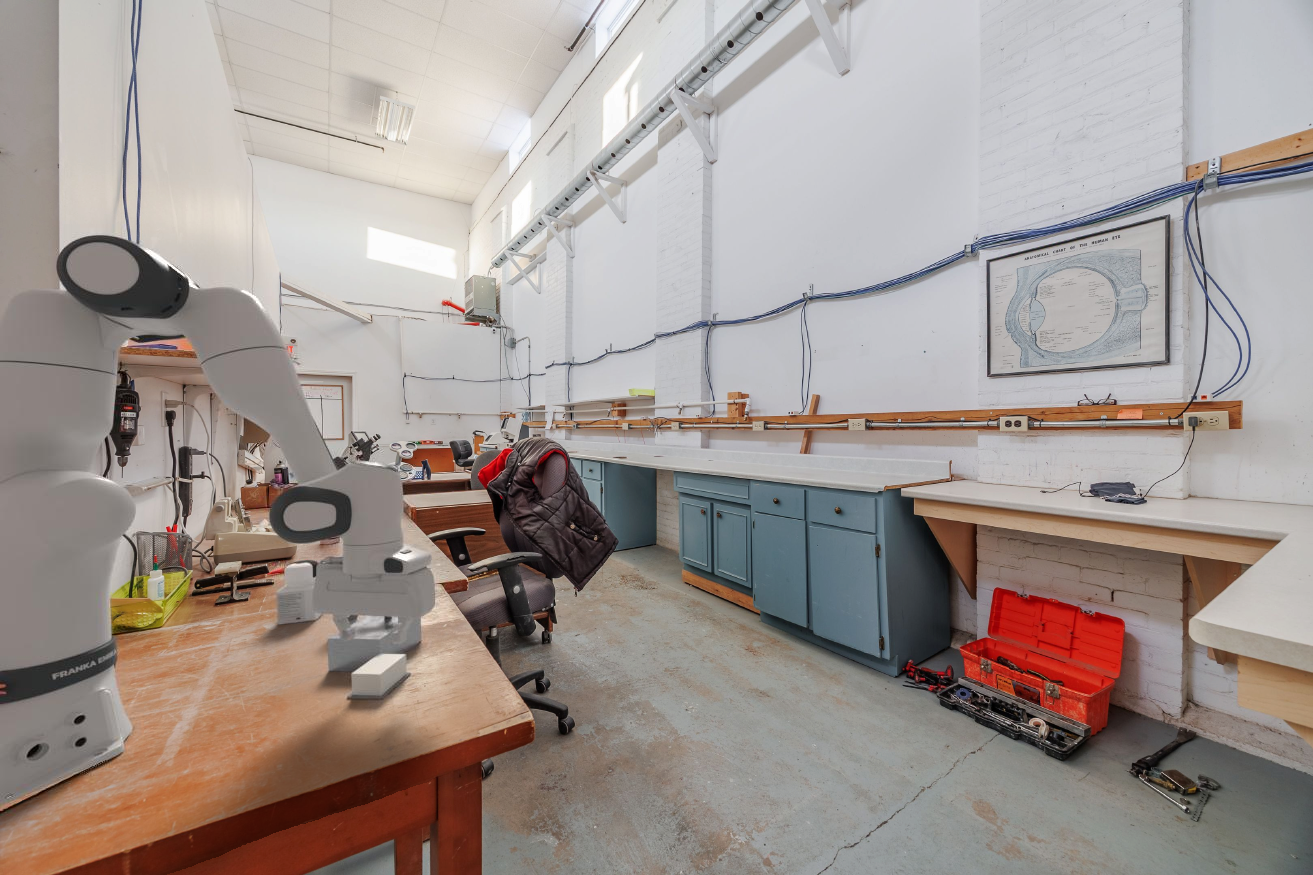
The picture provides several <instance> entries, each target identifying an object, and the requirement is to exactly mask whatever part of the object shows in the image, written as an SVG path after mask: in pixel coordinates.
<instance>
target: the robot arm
mask: <svg viewBox="0 0 1313 875" xmlns="http://www.w3.org/2000/svg"><path fill="white" fill-rule="evenodd" d="M56 274H57V276H58V279H59V281H60V283H61V285H62V286H63V288H64V289H65V290H64V289H56V288H35V289H27V290H24V291H21V292H18V293H16V294H15V295H14V296H12V297H11V298H10V300H9V301H8V302H7V305H6V307H5V308H4V311H3V314H2V316H1V318H0V807H1V806H2V805H5V804H6V803H9V802H11V801H14V800H15V799H18V798H21V797H23V796H25V795H26V794H30V793H32V792H35V791H37V790H40V789H41V788H43V787H46V786H48V785H50V784H52V783H54V782H56V781H59V780H60V779H63V778H65V777H67V776H69V775H72V774H73V773H75V772H80V771H82V770H85V769H86V768H89V767H91V766H94V765H95V764H98V763H100V762H102V763H104V762H106V761H108V760H111V759H112V758H114V757H116V756H118V755H120V754H122V753H123V751H125V743H124V742H125V740H126V739H127V738H128V737H129V735H130V734H131V732H132V731H133V728H134V727H133V724H132V722H131V721H130V719H129V716H128V715H127V714H126V709H125V708H124V705H123V702H122V700H121V695H120V692H119V688H118V683H117V679H116V678H117V677H116V671H115V668H116V666H117V662H118V648H117V647H118V646H117V638H116V636H115V635H112V615H111V582H112V576H113V571H114V567H115V564H116V559H117V557H118V556H117V555H118V552H119V547H120V543H121V542H122V541H121V540H122V537H123V535H124V534H125V533H126V532H127V531H128V530H129V528H130V527H131V526H132V524H133V523H134V521H135V516H136V511H137V509H136V508H137V507H136V506H137V505H136V501H135V499H134V497H133V496H132V494H131V492H129V490H127V488H125V487H124V486H122V485H121V484H119V483H117V482H115V481H113V480H112V479H109V478H106V477H104V476H101V475H100V474H96V473H94V472H91V470H92V467H93V464H94V462H95V459H96V456H97V454H98V451H99V450H100V447H101V446H102V443H103V442H104V440H105V439H106V438H107V437H108V436H109V434H110V433H111V431H112V430H113V427H114V417H115V415H114V413H115V403H116V402H115V401H116V391H117V389H116V388H117V382H118V381H117V379H118V364H119V357H120V356H119V355H120V352H121V351H120V350H121V348H122V346H123V345H124V343H126V342H127V341H128V340H130V341H132V342H135V343H138V344H144V343H146V344H147V343H150V342H151V343H153V342H158V341H169V340H170V341H171V340H180V339H182V340H183V339H186V340H187V341H188V342H189V344H190V345H191V347H192V349H193V351H194V353H195V355H196V358H197V360H198V363H199V365H200V367H201V370H202V372H203V374H204V377H205V379H206V381H207V383H208V384H209V387H210V388H211V389H212V391H213V393H214V394H215V395H216V396H217V398H218V399H219V401H220V402H221V403H222V404H223V405H224V406H225V408H227V409H228V410H230V411H232V412H233V413H235V414H237V415H238V416H240V417H242V418H244V419H247V421H250V422H252V423H254V424H255V425H256V426H259V427H260V428H261V429H262V430H264V431H265V432H266V433H268V434H269V435H270V436H271V437H272V439H273V440H274V441H275V442H276V443H277V445H278V447H279V448H280V451H281V453H282V454H283V456H284V458H285V460H286V462H287V464H288V466H289V468H290V471H291V473H293V476H294V478H295V479H296V482H297V485H294V486H291V487H290V488H288V489H286V490H283V492H281V493H280V494H278V496H276V497H275V499H274V500H273V502H272V504H271V505H270V508H269V513H268V520H269V523H270V527H271V528H272V530H273V532H274V533H275V534H276V535H277V536H278V537H279V538H280V539H282V540H283V541H286V542H289V543H292V544H303V545H304V544H313V543H317V542H321V541H323V540H324V541H325V540H329V539H332V538H341V539H342V556H338V557H337V556H325V557H324V558H323V559H320V561H319V562H318V564H317V567H316V578H315V583H314V588H313V596H312V608H313V610H314V611H315V612H316V613H317V614H321V615H332V620H333V623H334V624H335V626H336V628H337V629H338V631H340V640H342V641H350V640H351V639H353V638H354V637H355V627H351V625H350V623H349V620H348V618H347V617H349V616H350V615H358V616H364V617H366V616H387V617H398V623H401V625H400V627H399V629H398V630H397V631H395V632H393V633H392V638H393V639H392V643H403V642H405V641H406V639H407V629H408V628H409V626H410V624H411V623H412V621H413V619H414V618H420V617H421V618H422V617H424V616H426V615H428V614H429V613H431V612H432V610H433V609H434V607H435V605H436V585H435V584H436V583H435V577H434V574H433V571H432V570H431V569H430V568H428V566H430V565H431V564H432V561H433V560H432V558H433V557H432V554H431V553H430V552H427V551H425V550H422V549H419V548H417V547H415V546H414V547H413V546H411V545H409V544H408V543H405V542H404V532H403V530H402V518H403V516H404V510H405V509H404V490H403V488H404V487H403V482H402V477H401V473H400V472H399V470H398V469H397V468H395V467H394V466H393V465H390V464H388V463H383V462H378V461H370V460H368V461H367V460H353V461H349V462H348V463H347V464H346V465H344V466H343V467H341V468H339V467H338V466H337V463H336V462H335V460H334V458H333V456H332V454H331V451H330V449H329V448H328V445H327V443H326V442H325V440H324V438H323V435H322V433H321V431H320V429H319V427H318V425H317V423H316V421H315V419H314V417H313V415H312V412H311V409H310V407H309V404H308V401H307V399H306V395H305V393H304V390H303V388H302V384H301V381H300V379H299V376H298V373H297V370H296V367H295V364H294V362H293V359H292V357H291V354H290V351H289V350H288V347H287V345H286V342H285V341H284V338H283V336H282V335H281V333H280V331H279V329H278V327H277V326H276V324H275V322H274V320H273V319H272V317H271V316H270V314H269V313H268V311H267V309H266V308H265V307H264V306H263V303H261V301H260V300H259V299H258V298H257V297H256V296H255V295H253V294H252V293H251V292H248V291H246V290H244V289H241V288H237V287H236V288H234V287H229V286H216V287H210V288H203V287H202V288H201V287H200V286H199V285H198V284H197V282H194V281H193V280H192V279H191V278H190V277H189V276H188V275H187V274H186V273H185V272H184V271H183V270H181V269H180V268H178V266H175V265H174V264H173V263H170V262H169V261H167V260H166V259H164V258H163V257H161V256H160V255H159V254H158V253H156V252H154V251H152V250H151V249H150V248H149V247H148V248H147V247H146V246H144V245H142V244H139V243H137V242H134V241H132V240H128V239H126V238H122V237H118V236H113V235H108V234H107V235H106V234H94V235H93V234H92V235H87V236H81V237H80V238H76V239H74V240H73V241H71V242H69V243H68V244H67V245H66V246H64V248H62V249H61V251H60V253H59V254H58V256H57V260H56ZM105 760H106V761H105ZM103 761H104V762H103ZM100 764H101V763H100ZM98 765H99V764H98ZM94 767H95V766H94ZM9 796H11V797H9ZM7 797H9V798H7Z"/></svg>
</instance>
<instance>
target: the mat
mask: <svg viewBox="0 0 1313 875" xmlns="http://www.w3.org/2000/svg"><path fill="white" fill-rule="evenodd" d="M411 674H412V672H407V674H406V675H405V676H403V677H402V678H401V679H400V680H399V681H398V682H396V683H395V684H394V685H393V686H392V687H390V688H389V689H388V690H387V691H386V692H385V693H383V694H382V695H381V696H379V695H352V692H351V693H350V694H348V695H346V699H351V700H352V699H353V700H354V699H355V700H384V698H386V695H387V696H389V694H390V693H391V692H393V690H395V689H396V688H397V687H398V686H399V685H400V684H401V683H403V682H404V681H405V680H406V679H407V678H408V677H410V676H411ZM395 687H396V688H395ZM394 688H395V689H394Z"/></svg>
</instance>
